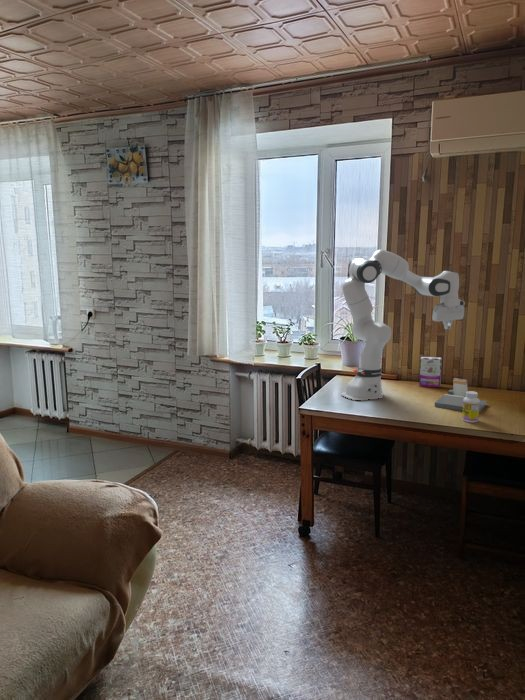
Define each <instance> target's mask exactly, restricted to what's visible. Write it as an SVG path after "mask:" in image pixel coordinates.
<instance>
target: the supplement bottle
mask: <svg viewBox="0 0 525 700" xmlns="http://www.w3.org/2000/svg"><path fill="white" fill-rule="evenodd" d="M478 396H479V393H478V392H477V391H472V390H468V391H467V392H466V397H465V398H464V399H463V411H461V412H462V413H461V416H462V417H461V420H462V421H463V422H466V423H469V424H470V423H471V424H472V423H474V424H475V423H478V422H479V416H480V415H479V414H480V413H479V404H480V398H478Z"/></svg>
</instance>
